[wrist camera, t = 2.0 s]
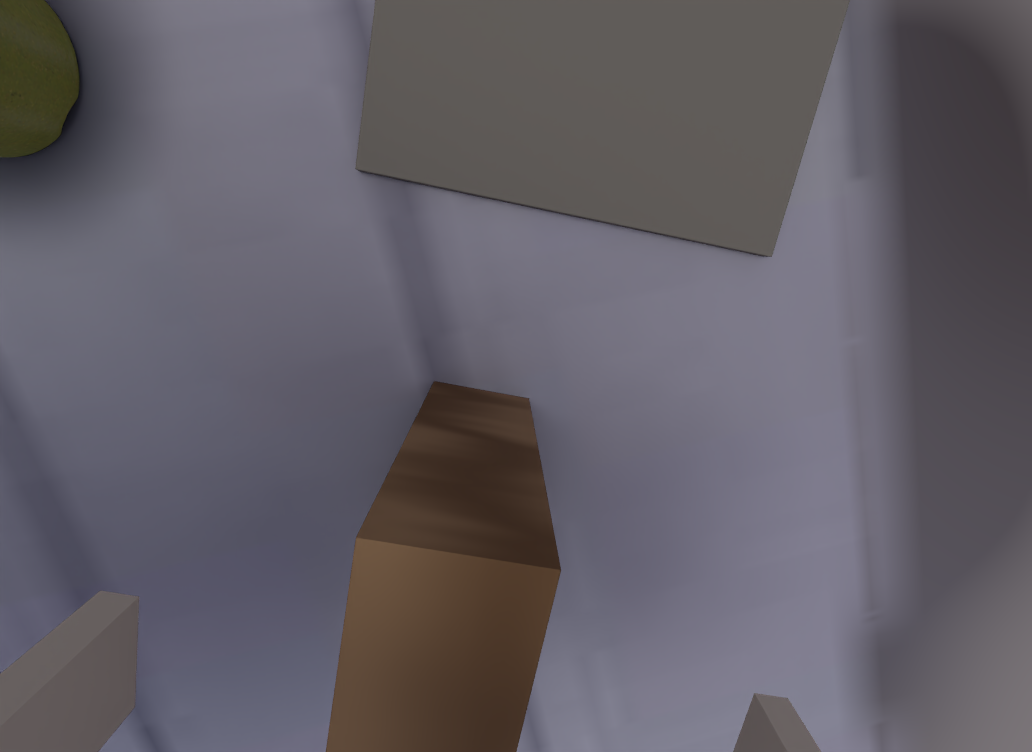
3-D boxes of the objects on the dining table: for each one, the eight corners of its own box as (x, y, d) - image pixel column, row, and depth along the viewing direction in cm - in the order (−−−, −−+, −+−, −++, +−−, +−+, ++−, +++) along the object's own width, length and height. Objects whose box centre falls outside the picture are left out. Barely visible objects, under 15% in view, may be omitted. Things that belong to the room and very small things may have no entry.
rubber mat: (359, 171, 20) (355, 168, 19) (416, -296, 16) (413, -316, 16) (764, 256, 21) (771, 256, 20) (890, -164, 18) (904, -178, 17)
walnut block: (409, 531, 23) (316, 817, 12) (433, 381, 22) (356, 537, 10) (497, 545, 23) (494, 838, 12) (528, 398, 22) (560, 570, 10)
